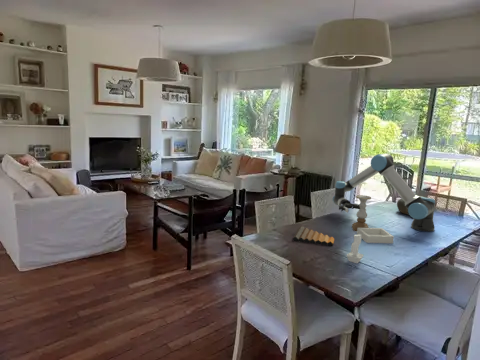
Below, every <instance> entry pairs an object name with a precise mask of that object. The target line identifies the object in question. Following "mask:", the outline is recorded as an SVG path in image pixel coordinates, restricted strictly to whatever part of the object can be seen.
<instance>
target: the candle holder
mask: <svg viewBox="0 0 480 360" xmlns="http://www.w3.org/2000/svg"><path fill="white" fill-rule="evenodd" d="M355 199H358V200H359V202H360V203H359V204H358V205H359V207H360V209H358V211H357V213H356V217H357V219H356V222H353V223H352V224H351V228H352V231H353V232H357V228H370V227H369V225H368V223H366V222H367V220H366V219H367V217H368V213H367V210H366V211H365V208H366V209H367V204H366V202H368V200H371V199H372V197H371V196H370V195H365V194H364V195H363V194H359V195H356V196H355Z"/></svg>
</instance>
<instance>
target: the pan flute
mask: <svg viewBox="0 0 480 360" xmlns="http://www.w3.org/2000/svg"><path fill="white" fill-rule="evenodd" d="M293 240H294V241H293ZM292 241H293V242H299V241H300V243H303V242H304V243H307V244H312V245H314V244H316V245H322V246H328V247H333V246H334V243H335V238H334V237H333V236H329V235H328V234H324V233H322V232H318V231H317V230H315V231H314V229H309V228H308V227H304V225H301V226H299V227H298V228H297V231H296V233H295V234H294V235H293V237H292Z"/></svg>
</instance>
